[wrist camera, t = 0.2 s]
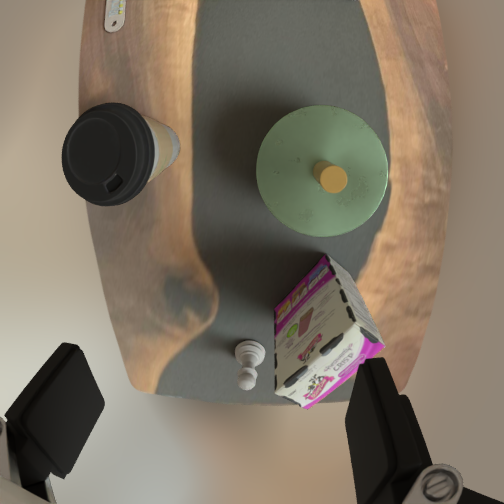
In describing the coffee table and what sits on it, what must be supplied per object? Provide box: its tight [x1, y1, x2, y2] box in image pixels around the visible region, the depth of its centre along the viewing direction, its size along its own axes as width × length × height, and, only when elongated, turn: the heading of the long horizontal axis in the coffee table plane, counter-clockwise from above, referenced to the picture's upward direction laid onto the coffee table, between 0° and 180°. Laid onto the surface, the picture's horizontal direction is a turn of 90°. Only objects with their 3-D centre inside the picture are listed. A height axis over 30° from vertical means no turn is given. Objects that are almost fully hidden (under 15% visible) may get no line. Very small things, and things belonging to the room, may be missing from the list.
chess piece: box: [235, 341, 265, 390], centre depth 43 cm, size 5×5×8 cm
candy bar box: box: [274, 254, 385, 409], centre depth 35 cm, size 11×5×16 cm, turn 143°
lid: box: [256, 105, 388, 237], centre depth 28 cm, size 14×14×6 cm
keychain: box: [105, 0, 126, 33], centre depth 28 cm, size 10×1×3 cm
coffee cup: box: [62, 103, 180, 206], centre depth 29 cm, size 9×9×15 cm
